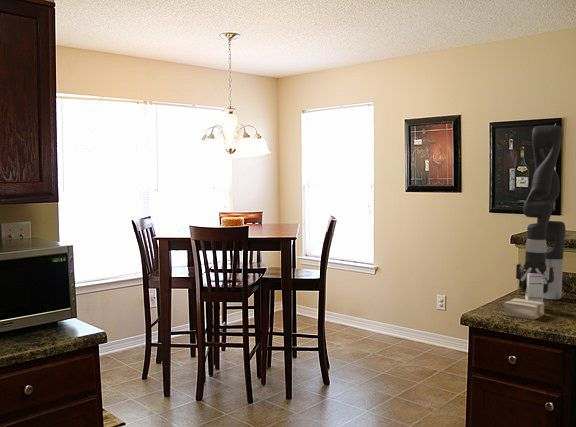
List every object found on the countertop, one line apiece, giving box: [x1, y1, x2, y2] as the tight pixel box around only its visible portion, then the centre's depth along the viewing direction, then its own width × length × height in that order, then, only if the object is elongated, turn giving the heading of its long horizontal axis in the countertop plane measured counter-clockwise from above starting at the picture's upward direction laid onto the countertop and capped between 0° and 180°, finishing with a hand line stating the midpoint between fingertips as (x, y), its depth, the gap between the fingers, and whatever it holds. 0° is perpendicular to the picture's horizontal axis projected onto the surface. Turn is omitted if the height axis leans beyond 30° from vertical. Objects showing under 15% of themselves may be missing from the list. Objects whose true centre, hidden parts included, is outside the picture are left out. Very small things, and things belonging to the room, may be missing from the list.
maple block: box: [503, 297, 546, 321], centre depth 221 cm, size 11×11×5 cm
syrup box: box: [524, 273, 544, 302], centre depth 230 cm, size 6×6×14 cm
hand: (534, 291), depth 230 cm, fingers closed on syrup box, 7 cm apart
